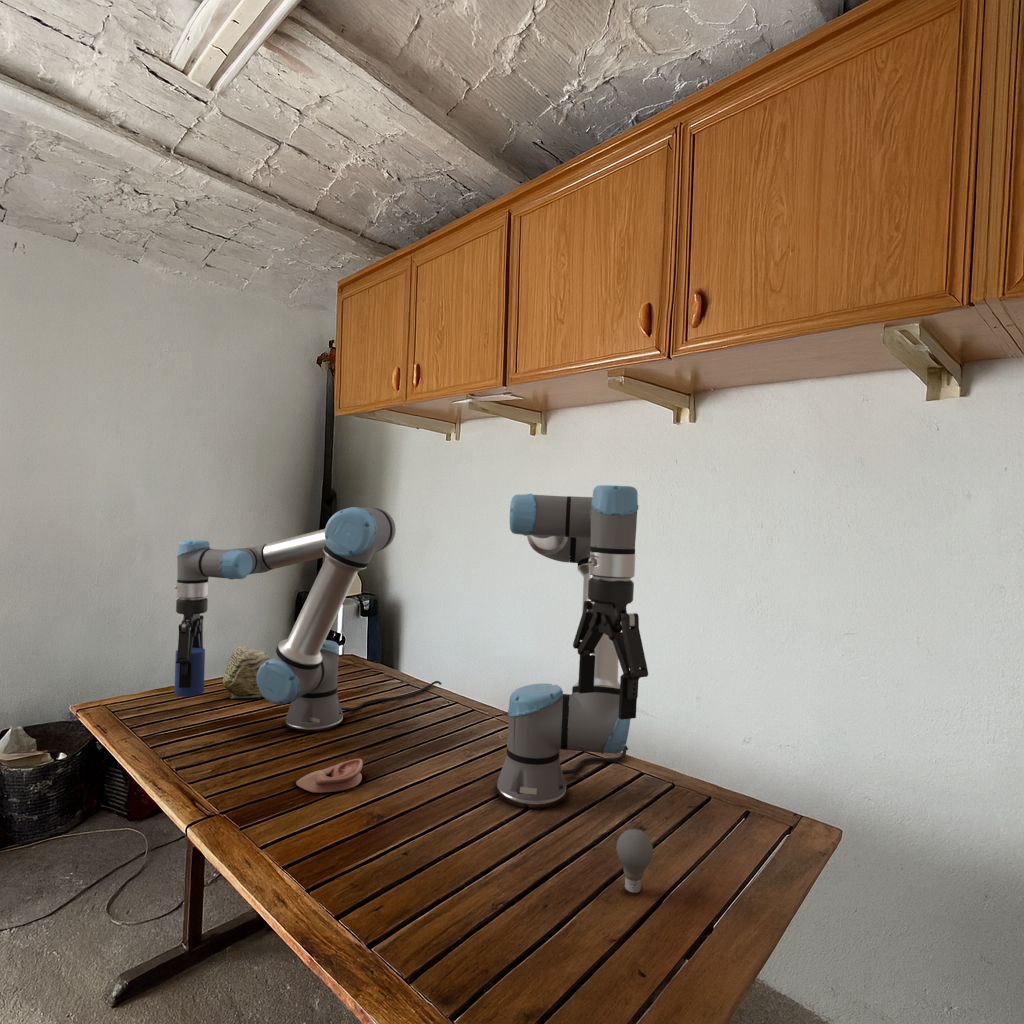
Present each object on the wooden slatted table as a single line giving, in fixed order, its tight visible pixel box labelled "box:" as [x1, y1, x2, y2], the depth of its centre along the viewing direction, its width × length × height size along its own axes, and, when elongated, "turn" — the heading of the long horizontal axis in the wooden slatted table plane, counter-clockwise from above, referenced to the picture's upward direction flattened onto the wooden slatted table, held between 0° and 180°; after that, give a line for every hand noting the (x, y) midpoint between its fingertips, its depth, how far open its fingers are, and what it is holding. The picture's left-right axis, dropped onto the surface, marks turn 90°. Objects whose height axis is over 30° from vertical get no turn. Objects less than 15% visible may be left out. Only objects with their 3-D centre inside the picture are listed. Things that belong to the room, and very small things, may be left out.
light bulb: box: [615, 828, 654, 894], centre depth 106 cm, size 6×6×10 cm
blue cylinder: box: [174, 647, 206, 698], centre depth 170 cm, size 7×7×11 cm
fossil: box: [222, 646, 272, 699], centre depth 198 cm, size 9×18×15 cm, turn 132°
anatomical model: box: [295, 758, 364, 794], centre depth 140 cm, size 13×4×12 cm
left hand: (189, 682), depth 170 cm, fingers closed on blue cylinder, 7 cm apart
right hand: (605, 704), depth 106 cm, fingers open, 13 cm apart
